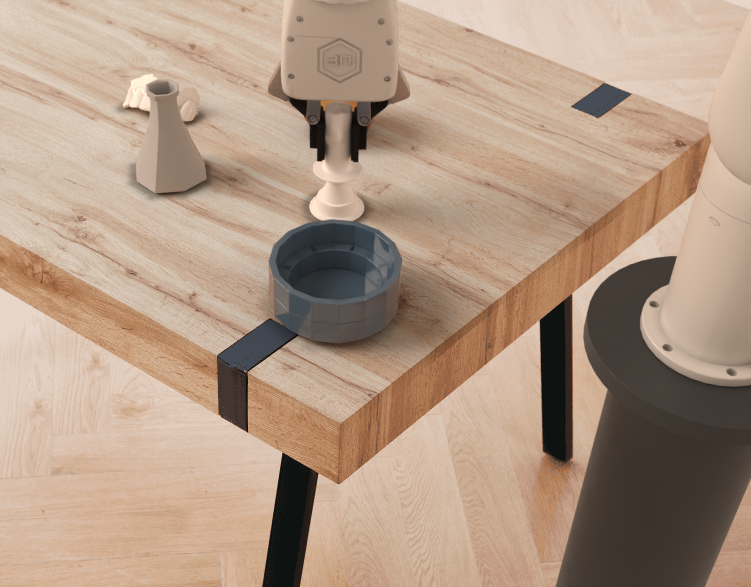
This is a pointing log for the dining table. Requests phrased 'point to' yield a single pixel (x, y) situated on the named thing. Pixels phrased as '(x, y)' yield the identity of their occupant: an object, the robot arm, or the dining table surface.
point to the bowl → (335, 280)
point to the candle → (337, 168)
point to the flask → (167, 144)
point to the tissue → (139, 98)
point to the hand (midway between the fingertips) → (338, 152)
